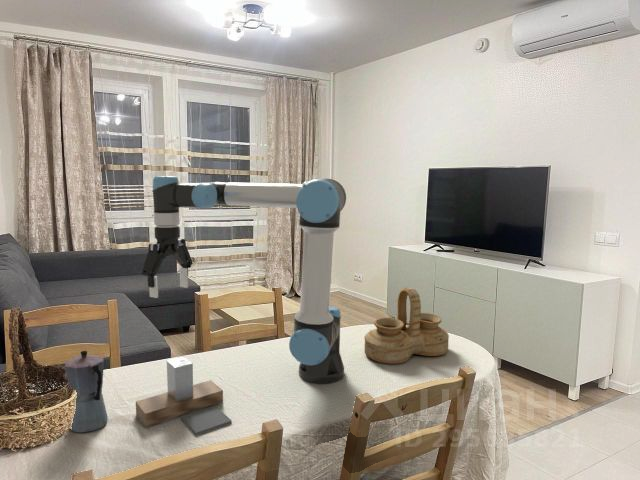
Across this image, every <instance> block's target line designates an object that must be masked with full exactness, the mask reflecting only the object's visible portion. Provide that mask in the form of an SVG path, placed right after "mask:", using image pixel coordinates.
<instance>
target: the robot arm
mask: <svg viewBox="0 0 640 480" xmlns="http://www.w3.org/2000/svg"><path fill="white" fill-rule="evenodd" d="M152 198H153V221H154V222H153V223H154V225H155V227H154V239H156V243H149V244H148V252H147V254H146V257H145V261H144V265H143V267H142V271H141V276H144V277H147V286H148V289H149V297H150V298H155V299H158V298H159V285H158V283H159V281H158V276H157V272H158V271H159V270H160V267H161V264H162V263H163V261H164V259H166V257H169V256H173V257H174V259H175V260H176V261H177V263H178V264H179V265H180V267H179V288H184V289H188V288H189V269H190V268H192V265H193V264H194V263H193V260H192V257H191V254H190V252H189V249H188V247H187V244H186V238H180V237H181V228H180V226H179V225H180V219H181V218H180V208H189V209H190V208H193V209H201V210H202V209H212V208H213V207H215V206H235V207H236V206H239V207H261V208H262V207H265V208H283V209H284V208H285V209H286V208H288V209H289V208H290V209H297V211H298V214H299V222H298V223H299V224H298V225H299V227H300V228H301V229H302V230H303V245H302V246H303V247H302V266H301V267H302V268H301V285H300V286H301V287H300V301H299V302H300V304H299V305H300V306H299V311H297V312H296V313H295V315H294V320H293V322H294V323H293V324H294V325H293V333H292V334H291V336H290V337H289V343H288V347H289V351H290V354H291V356H292V357H293V358H294V359H295V360H296V361H297V362H298V363H299V365H298V376H299V377H300V378H301V379H302V380H304V381H306V382H309V383H314V384H331V383H335V382H338V381H340V380H342V379H343V378H344V376H345V366H344V363H343V359H342V356H341V351H340V350H341V349H340V347H341V345H340V344H341V319H342V317H341V315H342V314H341V310H340V308H339V307H336V306H333V305H330V298H331V283H332V281H331V280H332V269H333V268H332V267H333V250H334V249H333V248H334V236H335V232H336V231H337V230H338V229H340V223H341V212H342V210H343V209H344V207H345V205H346V203H347V193H346V190H345V188H344V186H343V185H342V184H341V183H340V182H339V181H338V180H335V179H332V178H315V179H314V178H313V179H312V180H305V181H304V182H303V183H270V182H269V183H267V182H266V183H262V182H226V181H225V182H224V181H223V182H221V181H210V182H179V177H178V176H175V175H173V176H171V175H169V176H168V175H156V176H154V177H153V179H152Z"/></svg>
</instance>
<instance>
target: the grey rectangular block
mask: <svg viewBox="0 0 640 480" xmlns="http://www.w3.org/2000/svg"><path fill="white" fill-rule="evenodd" d="M193 363H194V362H191V360H189V358H188V357H186V356H180V357H173V358H171V359H166V372H167V373H166V379H167V384H166V385H167V392H168V395H169V396H170V397H171V398H172V399H173V400H174V401H175V402H180V401H183V400H186V399H190V398H193V385H194V372H193V371H194V370H193V368H194V367H193V366H194V364H193Z"/></svg>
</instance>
